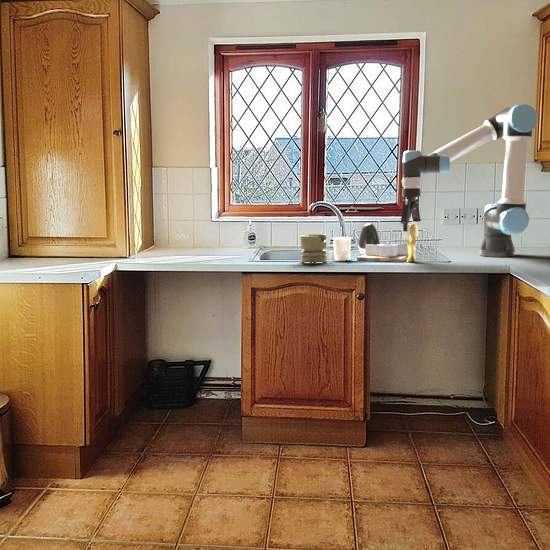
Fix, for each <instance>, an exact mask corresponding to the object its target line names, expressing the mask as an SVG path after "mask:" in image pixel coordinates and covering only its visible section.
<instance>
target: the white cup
mask: <svg viewBox="0 0 550 550" xmlns="http://www.w3.org/2000/svg"><path fill="white" fill-rule="evenodd" d="M332 240H333V253H334V260H335V261H337V262H339V261H340V262H346V260H347V261H350V259H351V249H352V246H351V245H352V238H351V237H349V236H339V237H336V236H335V237H333V238H332Z"/></svg>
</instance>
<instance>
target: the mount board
mask: <svg viewBox="0 0 550 550" xmlns="http://www.w3.org/2000/svg"><path fill="white" fill-rule="evenodd" d="M358 260H368V261H367V262H386V261H391V263H393V262H395V263H402V262H405V261H407V255H400V256H397V257H378V256H366V254H365V255H363V254H361V255H360V256H359V255H358V256H357V257H356V261H358Z"/></svg>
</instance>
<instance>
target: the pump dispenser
mask: <svg viewBox="0 0 550 550" xmlns="http://www.w3.org/2000/svg"><path fill="white" fill-rule="evenodd" d="M366 244H371V245H380V244H381V243H380V238H379V233H378V230H377V228H376V227H375V225H374V224H373V223H371V222H369V223H368V222H367V223H365V224H364V225H363V227H362V228H361V231H360V235H359V239H358V245H357V247H358V251H359V253H360V254H361V255H365V254H366Z"/></svg>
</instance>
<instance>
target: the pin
mask: <svg viewBox="0 0 550 550" xmlns="http://www.w3.org/2000/svg"><path fill="white" fill-rule="evenodd" d="M408 224H409V239H406V244H407V260H406V263H416V237H415V229H416V225H415V224H412V223H408Z"/></svg>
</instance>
